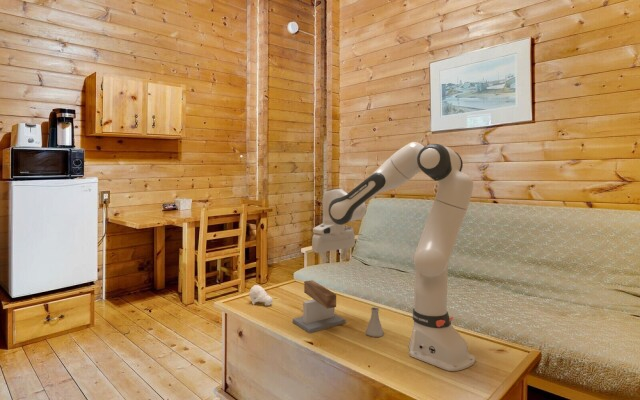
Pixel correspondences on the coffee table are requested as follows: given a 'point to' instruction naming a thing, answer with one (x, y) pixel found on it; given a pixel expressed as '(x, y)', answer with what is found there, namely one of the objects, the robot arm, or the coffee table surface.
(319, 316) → the stand
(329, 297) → the walnut stick
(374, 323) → the flask
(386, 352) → the coffee table surface
